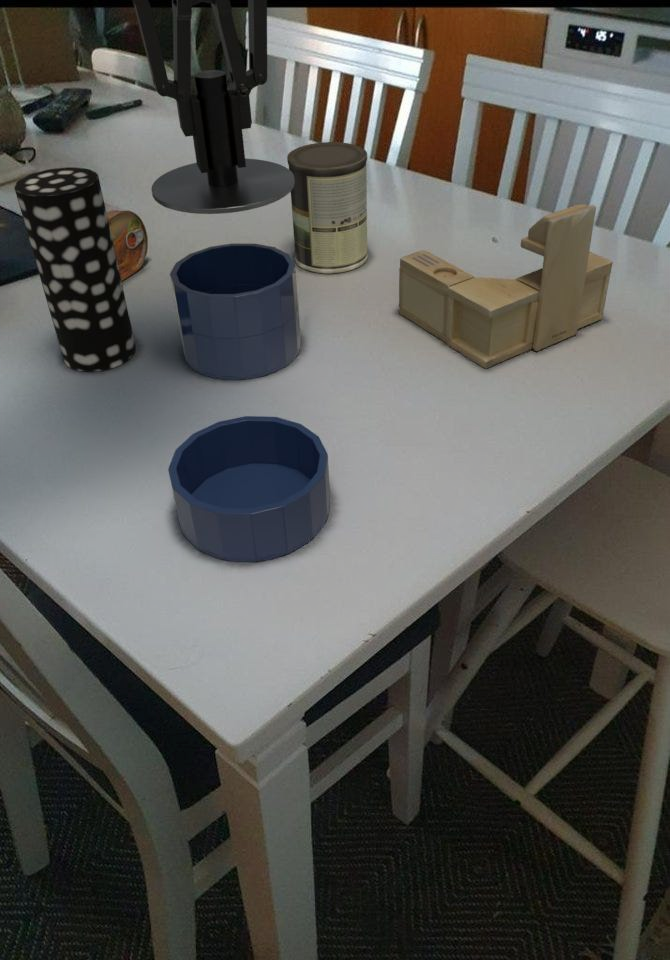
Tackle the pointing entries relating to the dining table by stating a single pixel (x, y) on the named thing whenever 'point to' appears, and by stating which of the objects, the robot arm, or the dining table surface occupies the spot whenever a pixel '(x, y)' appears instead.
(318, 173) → the coffee can
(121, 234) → the tin
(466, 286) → the toy kitchen set
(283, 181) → the lid
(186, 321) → the pot
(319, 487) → the pan
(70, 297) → the white-spotted black cylinder
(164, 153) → the dining table surface
